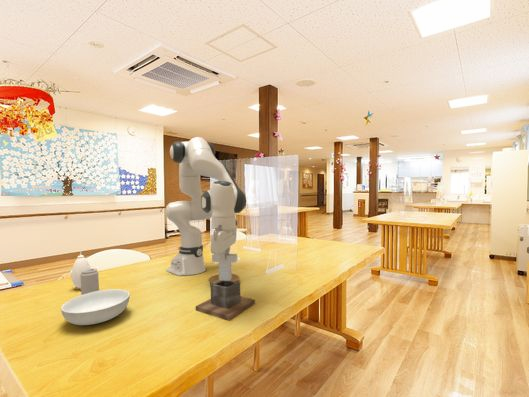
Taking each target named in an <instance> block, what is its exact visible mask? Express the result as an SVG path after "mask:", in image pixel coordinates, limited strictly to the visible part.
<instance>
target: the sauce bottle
mask: <svg viewBox="0 0 529 397" xmlns="http://www.w3.org/2000/svg"><path fill="white" fill-rule="evenodd" d="M86 269H92V268H91V265H90V263H89V261H88V260H87V258H85V255H83V254H82V250H81V249H80V250H79V255H78V256H77V258H76V259H75V261H74V263H73V265H72V268H71V282H72V284H73V285H74V287H76V288H77V289H80V290H81V277H80V275H81V271H83V270H86Z"/></svg>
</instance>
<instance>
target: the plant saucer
mask: <svg viewBox="0 0 529 397" xmlns="http://www.w3.org/2000/svg"><path fill="white" fill-rule="evenodd" d="M231 275H232V278H231V279H230V281H235V282H239V280H240V276H239V275H238V274H235V273H231ZM218 281H220V280H219V274H215V275H211V276H210V277H209V278H208V282H209V283H210V285H211V284H213V283H216V282H218Z"/></svg>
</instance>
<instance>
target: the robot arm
mask: <svg viewBox="0 0 529 397" xmlns="http://www.w3.org/2000/svg"><path fill="white" fill-rule="evenodd" d="M169 155H170V158H171V160H172V162H173V163H176V164H178V165H179V168H178V181H179V182H178V185H179V186H178V187H179V190H180V192H181V193H183V194H185V195H187V196H189V197H190V198H191V200H177V201H172V202H169V203H168V204H167V205H166V207H165V216H166V218H167V220H169V221H171V222H172V223H173V224H174V225H175V226H176V227H177V229H178V231H179V235H180V245H181V246H178V247H177V249H178V250H179V251H178V253H177V254H176V255H175V256H174V257H172V259H171V260H170V266H169V267H167V268H166V271H167V272H169V273H170V274H171V273H172V274H174V275H177V276H179V277H180V276H181V277H182V276H191V275H198V274H203V273H205V272H206V270H207V268H206V265H205V258H204V252H203V251H204V246H203V234H202V230H201V229H199V228H198V227H196V226H194V225H192V224H190V222H191V221H205V220H209V219H211V229H212V230H213V231H212V232H211V235H210V253H211V254H212V255H213V254H219V257H220V262H225V260H226V256H225V254H230V252H231V251H230V250H231V246H233V245H234V244H236V241H237V232H238V231H237V226H238V224H239V223H238V222H239V221H238V219H236V214H239V213H241V212H242V211H243V210H244V209H245V207H246V206H247V196H246V194H245V192H244V191H243V190H242V189H241V188H240V187H239V185H238V184H237V182H236V180H235V179H234V177H233V175H232V174H231V173H230V170H229V169H228V167H226V165H225V164H223V163H222V162H221V161H219V160H218V159H217V158H216V150H215V146H214V144H213V143H211V142H208V141H207V140H206V139H204V138H203V137H201V136H196V137H193V138H191V139H190V140H188V141H179V140H178V141H174V142H173V143H171V145H170V148H169ZM201 176H202V177H207V178H211V179H215V180H216V181H213V182H212V184H211V188H210V189H208V190H205V191H204V192H203V190H202V183H201Z"/></svg>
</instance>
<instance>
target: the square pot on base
mask: <svg viewBox="0 0 529 397" xmlns="http://www.w3.org/2000/svg"><path fill="white" fill-rule="evenodd" d="M255 304H256V300H255V299H253V298H250V297H245V296H241V282H239V281H237V282H235V281H230V280H229V281H223V280H220V281H218V282H216V283H213V284H211V283H210V299H209V298H208V299H207V300H205V301H203V302H201V303H199V304H197V305H196V306H195V311H197V312H199V313H204V314H207V315H209V316H213V317H216V318H219V319H223V320H226V321H230V320H232V319H233V318H235V317H237V316H238V315H240V314H241V313H243V312H244V311H246V310H247V309H249V308H251V307H252V306H254V305H255Z"/></svg>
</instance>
